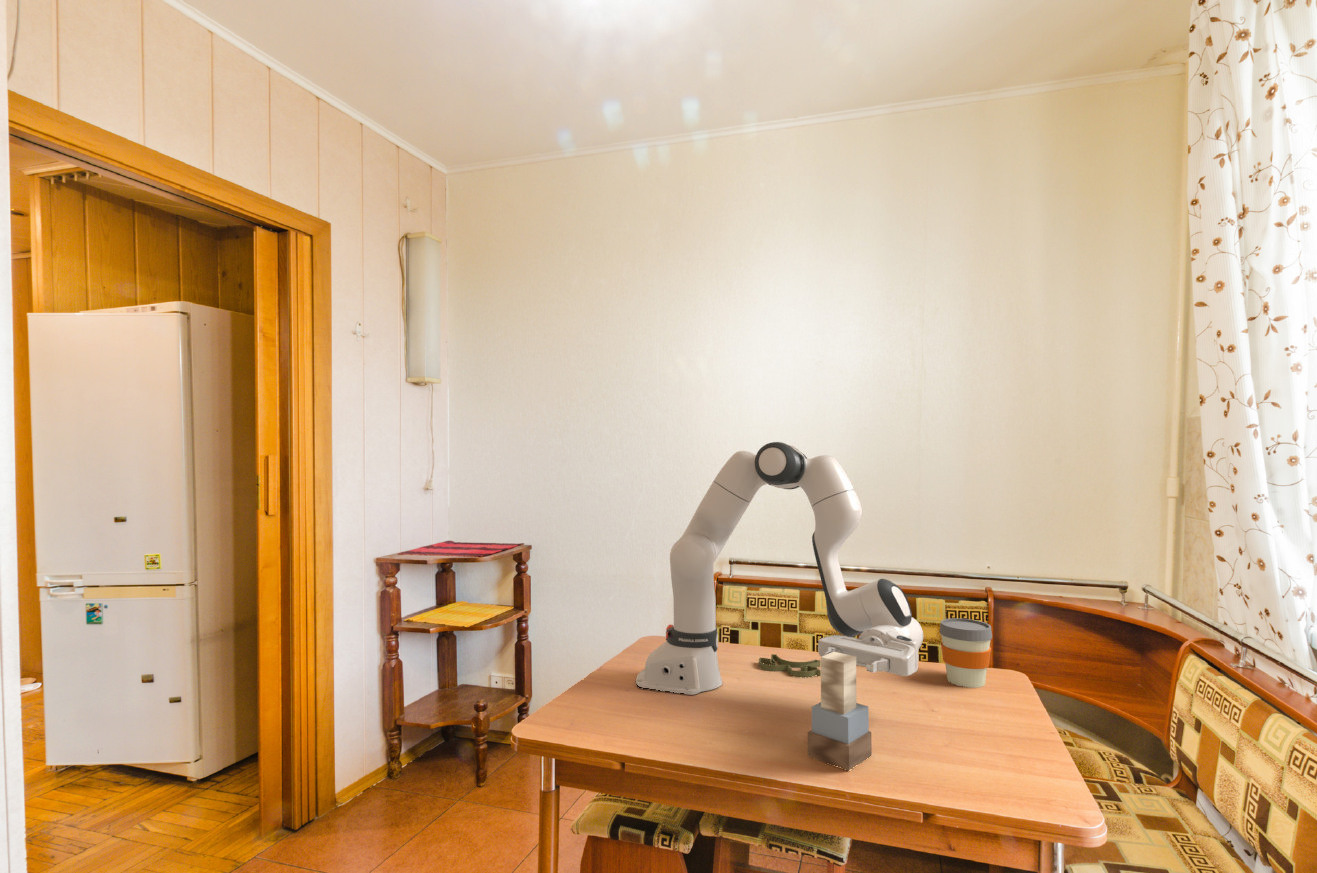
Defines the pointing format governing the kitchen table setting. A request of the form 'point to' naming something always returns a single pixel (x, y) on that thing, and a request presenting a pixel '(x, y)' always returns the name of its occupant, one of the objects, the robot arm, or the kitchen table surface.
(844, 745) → the walnut base block
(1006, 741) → the kitchen table surface
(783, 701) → the kitchen table surface
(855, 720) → the slate-blue top block
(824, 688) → the cream pillar block
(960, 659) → the reusable coffee cup
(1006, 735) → the kitchen table surface
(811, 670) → the cookie cutter
